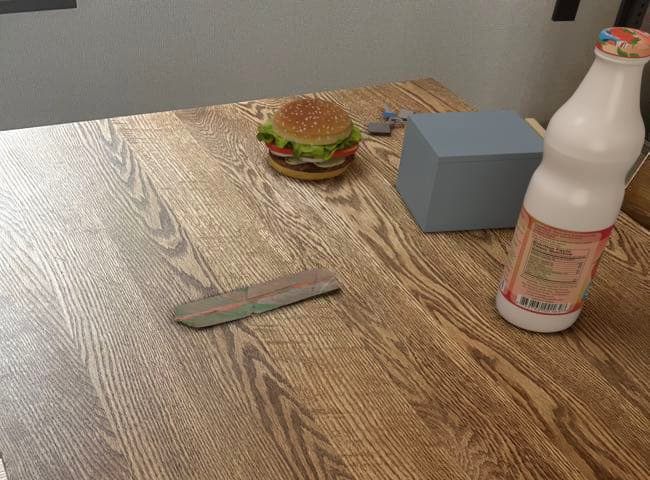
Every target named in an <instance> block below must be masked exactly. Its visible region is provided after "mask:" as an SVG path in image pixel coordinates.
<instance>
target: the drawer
mask: <svg viewBox="0 0 650 480" xmlns="http://www.w3.org/2000/svg"><path fill="white" fill-rule="evenodd" d="M524 121H525V122H526V123H527V124H528V125H529V126H530V127H531V128H532V129H533V130H534V131H535V132H536V133H537V134H538V135H539V137H540V138H541V139H542V140H543V141H544V135H545V132H546V129H545V128H543V126H542V125H541V124H540V123H539V122H538V120H536V119H535V118H534V117H530V118H529V117H527V118H524Z"/></svg>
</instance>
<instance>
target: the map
mask: <svg viewBox="0 0 650 480" xmlns="http://www.w3.org/2000/svg"><path fill="white" fill-rule="evenodd" d="M339 285H340V283H339V281H338V280H337V275H335V273H334V272H331V270H330V269H329V268H322V269H321V268H320V267H316V268H311V269H308V270H305V271H300V272H295V273H291V274H287V275H284V276H281V277H276V278H274V279H271V280H266V281H264V282H260V283H257V284H254V285H249V286H246V287H242V288H239V289H236V290H232V291H229V292H228V291H227V292H225V293H222V294H218V295H215V296H211V297H207V298H203V299H199V300H195V301H192V302H187V303H183V304H177V305H175V309H176V310H175V311H174V313H175V315H174V317H173V320H174V321H176V322H181V323H183V324H185V325H187V326H188V327H192V328H203V327H209V326H213V325H218V324H222V323H226V322H231V321H236V320H239V319H244V318H246V317H250V316H251V315H252V313H254V314H257V315H259V314H261V313H264V312H268V311H271V310H274V309H277V308H280V307H284V306H286V305H290V304H293V303H296V302H299V301H301V300H304V299H307V298H311V297H314V296H317V295H321V294H325V293H327V292H331V291H333V290H336V289H340V288H339Z"/></svg>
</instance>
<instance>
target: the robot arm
mask: <svg viewBox="0 0 650 480" xmlns="http://www.w3.org/2000/svg"><path fill="white" fill-rule="evenodd" d="M580 3H581V0H555V4H554V8H553V11H552V15H551V18H550V20H551V21H552V22H575V20H576V16H577V13H578V10H579V8H580ZM649 5H650V0H621V1H620V5H619V8H618V11H617V13H616V16H615V19H614V22H613V25H612V28H614V27H623V28H632V29H637V30H641V28H642V25H643V23H644V19H645V17H646V14H647V11H648V8H649Z"/></svg>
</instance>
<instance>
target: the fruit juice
mask: <svg viewBox="0 0 650 480" xmlns="http://www.w3.org/2000/svg"><path fill="white" fill-rule="evenodd" d="M594 55H595V58H594V61H593V62H592V64H591V66H590V68H589V70H588V71H587V73H586V74H585V76H584V78H583V79H582V81H581V82H580V84H579V86H577V89H576V90H575V92H574V93H572V95H571V97H570V98H568V100H567V101H566V102H564V104H563V105H562V106H561V107H559V108H558V110H556V111H555V113H553V115H552V116H551V118H550V120H549V121H548V124H547V126H546V129H545V131H546V132H545V135H544V142H543V159H542V162H541V164H540V165H539V167H538V168H537V169H536V170H535V172H534V174H533V176H532V178H531V180H530V183H529V186H528V188H527V191H526V194H525V197H524V201H523V205H522V209H521V212H520V215H519V219H518V222H517V226H516V227H515V229H514V233H513V236H512V239H511V243H510V246H509V250H508V252H507V257H506V261H505V263H504V266H503V270H502V274H501V277H500V280H499V284H498V287H497V291H496V295H495V308H496V310H497V312H498V313H499V315H500V316H501V317H502V318H503V319H504V320H506V321H507V322H508V323H511V324H512V325H514V326H516V327H518V328H520V329H522V330H523V329H524V330H527V331H531V332H536V333H556V332H560V331H564V330H566V329H568V328H570V327H571V326H572V325H574V323H575V322H576V321H577V320H578V318H579V316H580V314H581V312H582V310H583V306H584V304H585V301H586V299H587V296H588V294H589V292H590V288H591V286H592V283H593V281H594V278H595V276H596V273H597V271H598V267H599V265H600V263H601V261H602V258H603V255H604V252H605V250H606V247H607V244H608V242H609V239H610V237H611V234H612V232H613V229H614V227H615V224H616V221H617V220H618V217H619V215H620V211H621V209H622V205H623V202H624V197H625V194H626V178H627V175H628V173H629V172H630V171H631V169H632V168H633V166H634V165H635V163H636V162H637V160H638V159H639V156H640V155H641V153H642V149H643V147H644V143H645V138H646V128H645V123H644V119H643V117H642V112H641V106H640V105H641V104H640V103H641V102H640V101H641V86H642V78H643V77H642V76H643V71H644V67H645V65H646V64H648V62H649V61H650V33H649V32H646V31H644V30H641V29H639V30H637V29H632V28H623V27H614V28H613V27H607V28H605V29H602V31H601V32H600V33H599V35H598V37H597V40H596V42H595V48H594Z"/></svg>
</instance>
